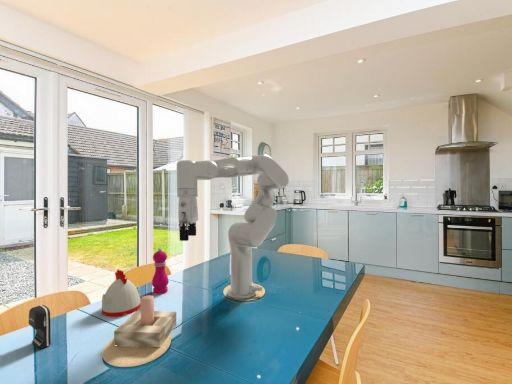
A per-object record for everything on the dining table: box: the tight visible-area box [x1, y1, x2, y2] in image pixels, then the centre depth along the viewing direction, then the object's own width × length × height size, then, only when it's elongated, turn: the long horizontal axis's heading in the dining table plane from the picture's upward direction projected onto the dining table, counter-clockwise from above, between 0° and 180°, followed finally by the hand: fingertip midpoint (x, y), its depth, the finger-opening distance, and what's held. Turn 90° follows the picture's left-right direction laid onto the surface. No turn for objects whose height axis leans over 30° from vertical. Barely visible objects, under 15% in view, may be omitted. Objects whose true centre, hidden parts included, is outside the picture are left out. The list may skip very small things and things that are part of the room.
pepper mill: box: [151, 247, 169, 295], centre depth 128 cm, size 7×7×20 cm
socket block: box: [113, 310, 177, 348], centre depth 91 cm, size 14×14×4 cm
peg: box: [140, 295, 155, 326], centre depth 91 cm, size 4×4×12 cm
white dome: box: [101, 269, 141, 318], centre depth 110 cm, size 14×14×15 cm
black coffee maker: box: [28, 304, 52, 349], centre depth 85 cm, size 7×4×11 cm, turn 54°
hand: (188, 237), depth 108 cm, fingers open, 9 cm apart
